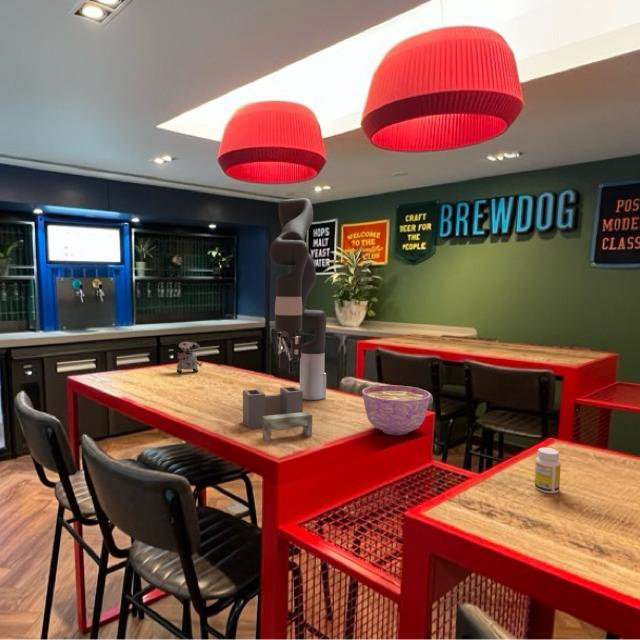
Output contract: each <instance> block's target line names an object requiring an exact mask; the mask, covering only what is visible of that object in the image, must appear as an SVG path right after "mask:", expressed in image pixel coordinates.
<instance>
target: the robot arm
mask: <svg viewBox="0 0 640 640" xmlns="http://www.w3.org/2000/svg"><path fill="white" fill-rule="evenodd" d="M278 217H279V221H280V226H281V233H280V234H279V236H278V237H276V238H275V239H274V240H273V242H271V245H270V248H269V259H270V261H271V262H272V264H273V265H275V266H278V267H288V273H286V274H281V275H278V276H277V277H276V280H275V281H276V282H275V304H274V329H275V330H276V343H275V345H276V347H275V348H276V349H275V352H276V353H277V355H278V359H279V360H278V368H279V369H280V370H287V368H288V373H289V374H290V375H296V374H298V361H299V389H300V390H302V391H303V400H304V401H305V400H307V401H318V400H319V401H320V400H323V399H326V398H327V373H326V371H325V358H326V357H325V356H326V355H325V348H326V331H327V315H326V312H325V311H324V310H320V309H307V308H306V303H307V302H306V301H307V299H308V296H309V294H311V293H310V292H311V291H312V289H313V288H314V286H315V284H316V282H317V281H316V280H317V272H316V264H315V263H316V262H315V260H314V258H313V257H312V255H311V254H310V249H309V247H308V246H309V245H308V244H307V243H306V242H305V238H306V234H307V232H308V231H309V229H310V227H311V225H312V223H313V222H314V221H313V220H314V209H313V205H312V201H311V200H310V199H309V198H305V197H301V198H291V199H282V200H280V202H278ZM297 332H298V333H299V334H301V335H314V338H313V339H312V340H310V341H309V342H305V343H303V344H302V336H300V335H298V336H297Z"/></svg>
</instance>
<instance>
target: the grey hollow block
mask: <svg viewBox="0 0 640 640" xmlns="http://www.w3.org/2000/svg"><path fill="white" fill-rule="evenodd" d="M279 389H280V390H279V393H275V394H266V393H264V392H263V391H262V390H260V389H259V388H258V389H256V388H255V389H246V390H245V389H244V390H242V423H243V424H244V426H246V428H247V429H248V430H249V429H250V430H251V429H260V428H261V429H262V428H263V427H262V416H270V415H280V414H291V413H301V412H303V408H304V407H303V403H304V402H303V401H304V399H303V391H302V390H300V388H299V387H296V386H284V387H282V386H281V387H279Z"/></svg>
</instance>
